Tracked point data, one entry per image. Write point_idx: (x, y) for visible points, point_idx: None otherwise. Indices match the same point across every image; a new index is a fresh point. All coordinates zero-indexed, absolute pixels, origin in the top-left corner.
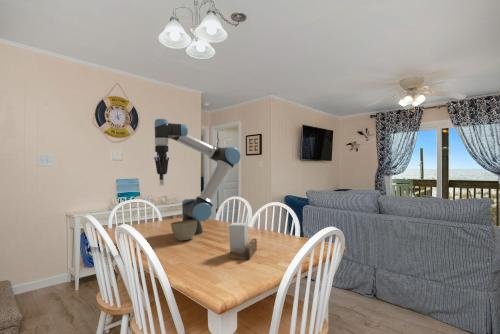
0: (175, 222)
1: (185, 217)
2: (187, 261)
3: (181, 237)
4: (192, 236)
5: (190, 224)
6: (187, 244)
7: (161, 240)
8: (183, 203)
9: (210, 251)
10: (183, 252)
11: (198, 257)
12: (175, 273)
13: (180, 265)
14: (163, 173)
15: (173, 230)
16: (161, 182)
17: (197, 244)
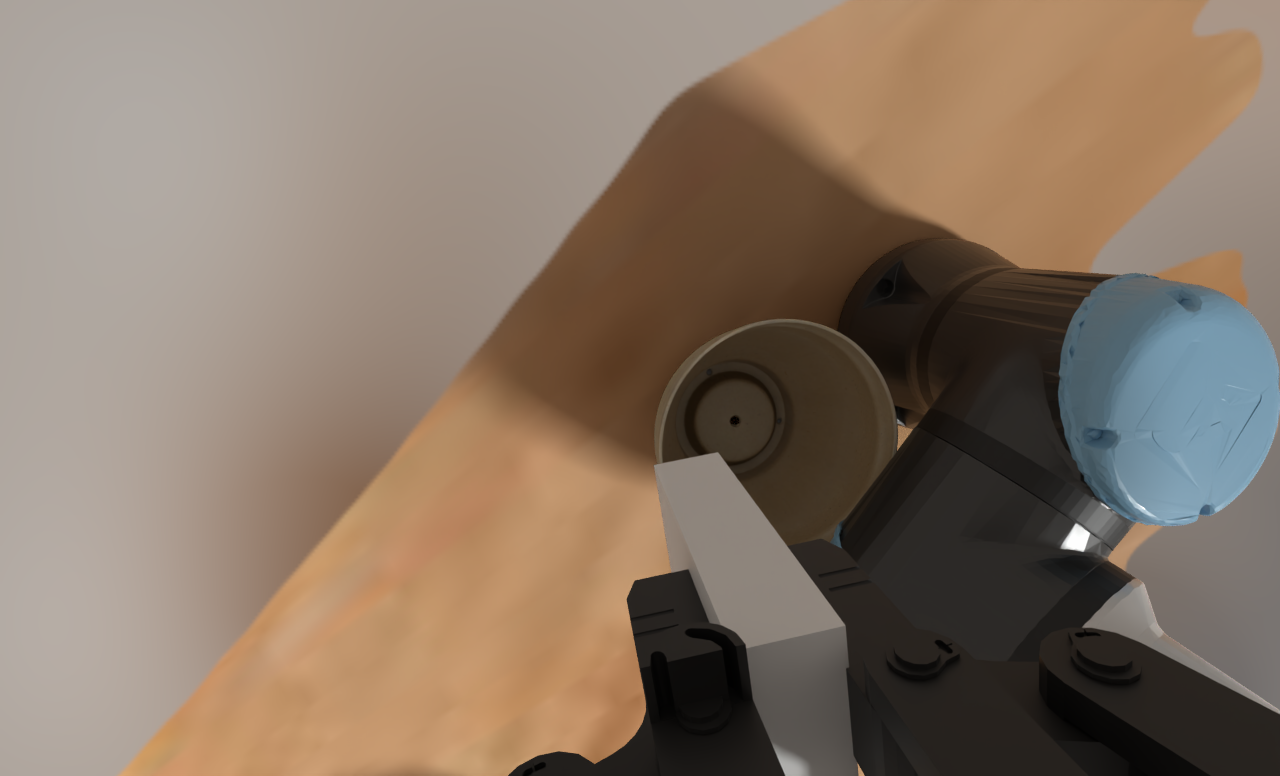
0: (805, 324)
1: (942, 353)
2: (342, 704)
3: (671, 439)
4: (741, 481)
5: None
6: (625, 506)
7: (648, 254)
8: (1063, 357)
9: (549, 712)
10: (466, 589)
11: (427, 715)
12: (167, 759)
13: (272, 711)
14: (866, 767)
15: (663, 394)
16: (675, 548)
17: (648, 565)
